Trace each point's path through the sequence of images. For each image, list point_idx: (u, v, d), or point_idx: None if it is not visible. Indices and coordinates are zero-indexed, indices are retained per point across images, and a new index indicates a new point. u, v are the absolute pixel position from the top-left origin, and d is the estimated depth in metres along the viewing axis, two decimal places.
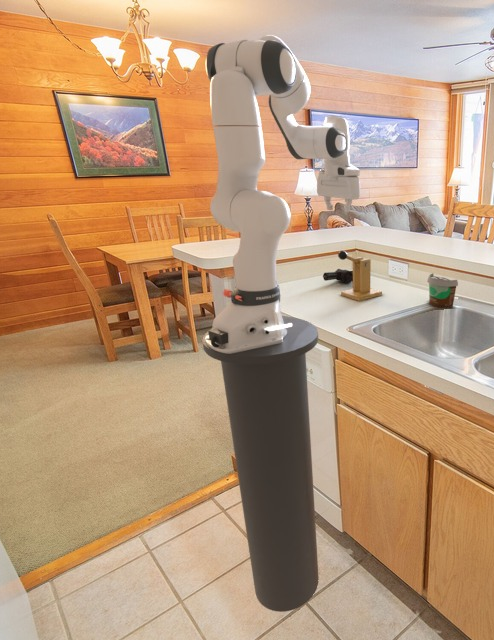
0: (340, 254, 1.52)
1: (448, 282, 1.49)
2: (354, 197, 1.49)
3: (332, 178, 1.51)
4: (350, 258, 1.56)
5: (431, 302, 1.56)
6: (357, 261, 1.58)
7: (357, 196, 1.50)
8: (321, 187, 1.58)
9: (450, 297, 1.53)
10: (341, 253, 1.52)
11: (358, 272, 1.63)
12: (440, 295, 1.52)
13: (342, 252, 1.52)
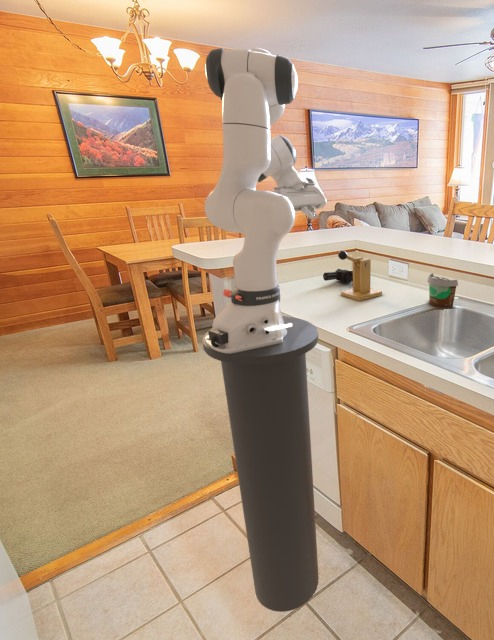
0: (340, 254, 1.52)
1: (448, 282, 1.49)
2: None
3: (303, 186, 1.54)
4: (350, 258, 1.56)
5: (431, 302, 1.56)
6: (357, 261, 1.58)
7: None
8: (291, 198, 1.49)
9: (450, 297, 1.53)
10: (341, 253, 1.52)
11: (358, 272, 1.63)
12: (440, 295, 1.52)
13: (342, 252, 1.52)
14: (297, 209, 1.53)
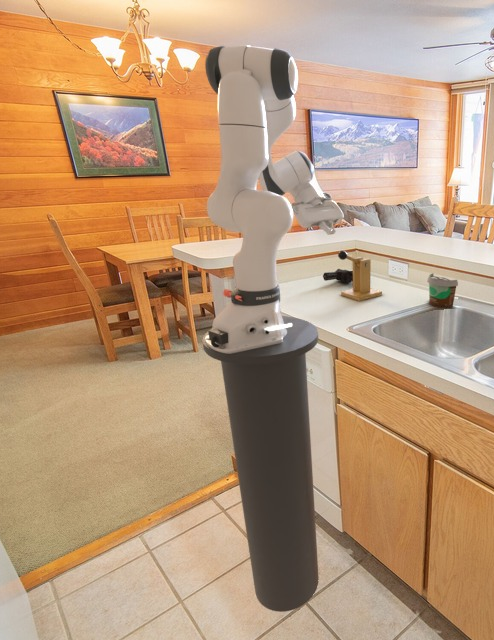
0: (340, 254, 1.52)
1: (448, 282, 1.49)
2: None
3: (320, 202, 1.52)
4: (350, 258, 1.56)
5: (431, 302, 1.56)
6: (357, 261, 1.58)
7: None
8: (309, 213, 1.47)
9: (450, 297, 1.53)
10: (341, 253, 1.52)
11: (358, 272, 1.63)
12: (440, 295, 1.52)
13: (342, 252, 1.52)
14: (315, 225, 1.51)
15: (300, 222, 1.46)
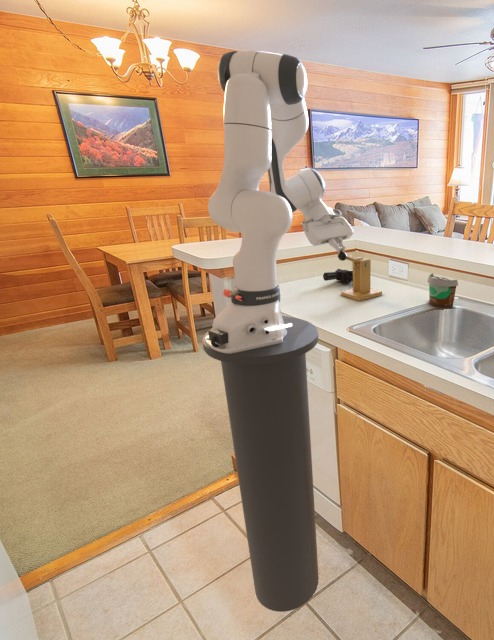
0: (340, 255, 1.52)
1: (448, 282, 1.49)
2: None
3: (330, 219, 1.52)
4: (350, 259, 1.56)
5: (431, 302, 1.56)
6: (357, 261, 1.58)
7: None
8: (319, 231, 1.47)
9: (450, 297, 1.53)
10: (341, 254, 1.52)
11: (358, 272, 1.63)
12: (440, 295, 1.52)
13: (342, 253, 1.52)
14: (325, 242, 1.51)
15: (310, 240, 1.46)
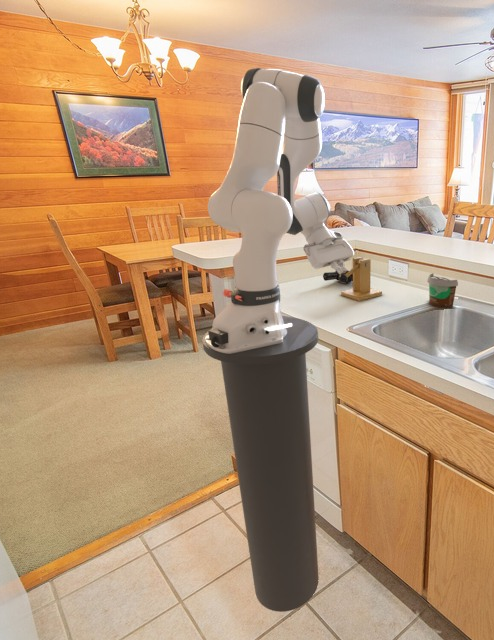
0: (341, 281, 1.56)
1: (448, 282, 1.49)
2: None
3: (332, 242, 1.55)
4: (350, 273, 1.58)
5: (431, 302, 1.56)
6: (357, 267, 1.59)
7: None
8: (321, 255, 1.50)
9: (450, 297, 1.53)
10: (341, 280, 1.56)
11: (358, 272, 1.63)
12: (440, 295, 1.52)
13: (341, 279, 1.55)
14: (326, 265, 1.54)
15: (312, 263, 1.50)
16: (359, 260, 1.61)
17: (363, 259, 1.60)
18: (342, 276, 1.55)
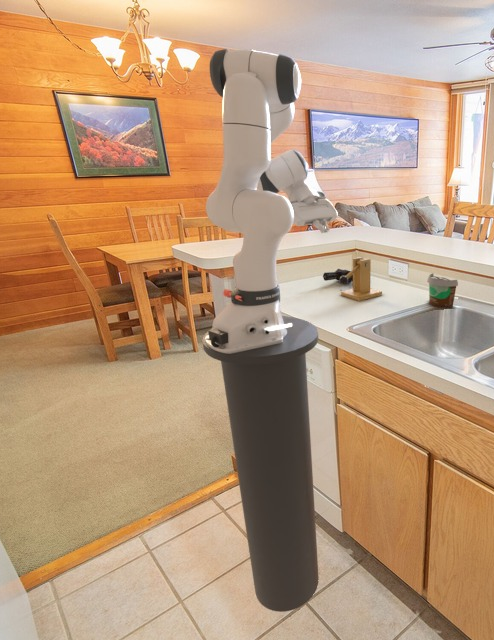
0: (342, 283, 1.57)
1: (448, 282, 1.49)
2: None
3: (314, 200, 1.54)
4: (351, 274, 1.58)
5: (431, 302, 1.56)
6: (357, 268, 1.60)
7: None
8: (303, 212, 1.49)
9: (450, 297, 1.53)
10: (342, 282, 1.56)
11: (358, 272, 1.63)
12: (440, 295, 1.52)
13: (342, 281, 1.56)
14: (309, 223, 1.53)
15: (294, 220, 1.48)
16: (359, 260, 1.61)
17: (363, 259, 1.60)
18: (343, 278, 1.56)
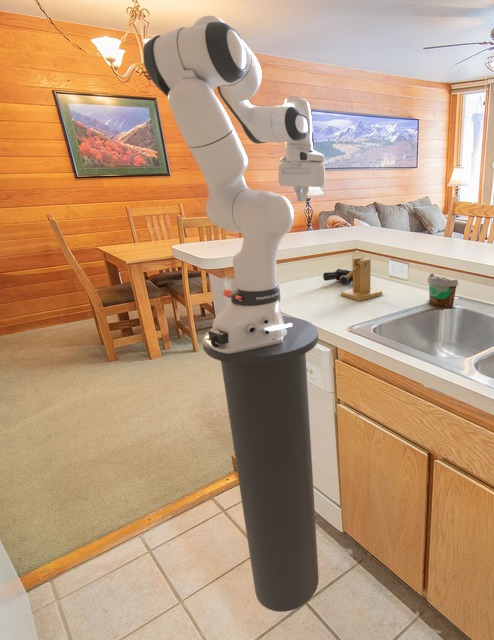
0: (342, 283, 1.57)
1: (448, 282, 1.49)
2: (318, 184, 1.38)
3: (294, 165, 1.40)
4: (351, 274, 1.58)
5: (431, 302, 1.56)
6: (357, 268, 1.60)
7: (322, 183, 1.39)
8: (283, 176, 1.46)
9: (450, 297, 1.53)
10: (342, 282, 1.56)
11: (358, 272, 1.63)
12: (440, 295, 1.52)
13: (342, 281, 1.56)
14: None
15: None
16: (359, 260, 1.61)
17: (363, 259, 1.60)
18: (343, 278, 1.56)
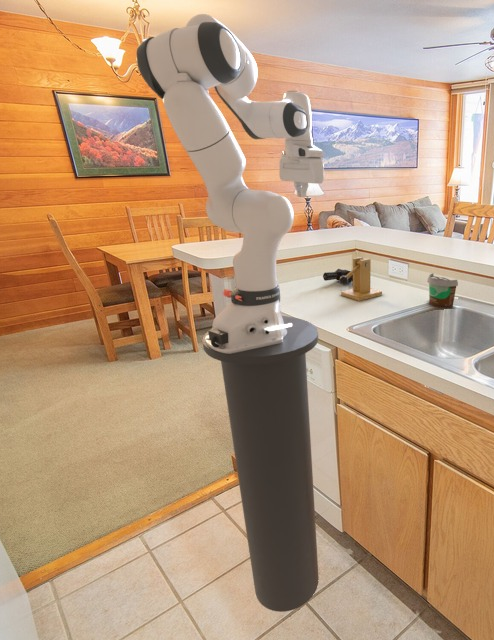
0: (342, 283, 1.57)
1: (448, 282, 1.49)
2: (317, 181, 1.37)
3: (293, 160, 1.39)
4: (351, 274, 1.58)
5: (431, 302, 1.56)
6: (357, 268, 1.60)
7: (320, 180, 1.37)
8: (284, 171, 1.46)
9: (450, 297, 1.53)
10: (342, 282, 1.56)
11: (358, 272, 1.63)
12: (440, 295, 1.52)
13: (342, 281, 1.56)
14: None
15: None
16: (359, 260, 1.61)
17: (363, 259, 1.60)
18: (343, 278, 1.56)
